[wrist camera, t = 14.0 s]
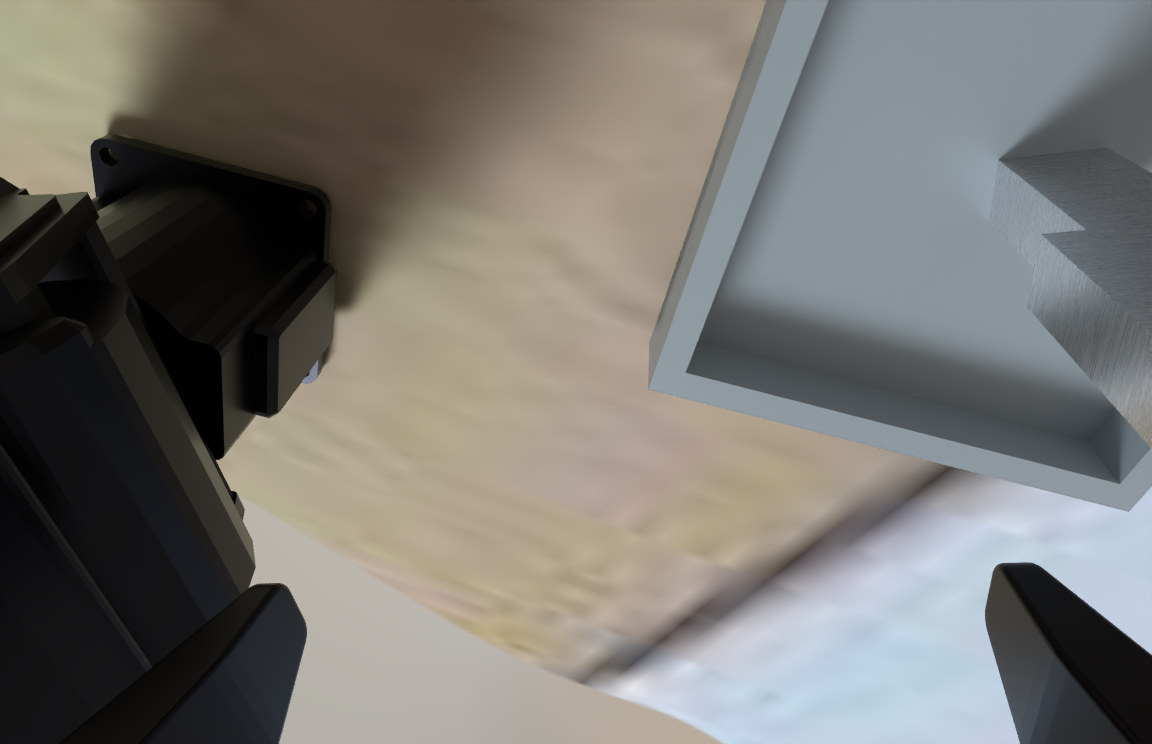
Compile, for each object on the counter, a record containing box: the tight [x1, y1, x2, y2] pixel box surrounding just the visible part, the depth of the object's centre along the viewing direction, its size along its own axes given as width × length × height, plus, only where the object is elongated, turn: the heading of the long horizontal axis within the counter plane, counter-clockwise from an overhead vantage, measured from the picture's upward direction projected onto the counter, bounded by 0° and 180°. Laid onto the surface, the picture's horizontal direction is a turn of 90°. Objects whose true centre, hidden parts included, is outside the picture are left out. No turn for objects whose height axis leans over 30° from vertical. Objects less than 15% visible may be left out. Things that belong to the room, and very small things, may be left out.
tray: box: [648, 0, 1152, 512], centre depth 18 cm, size 14×14×2 cm
